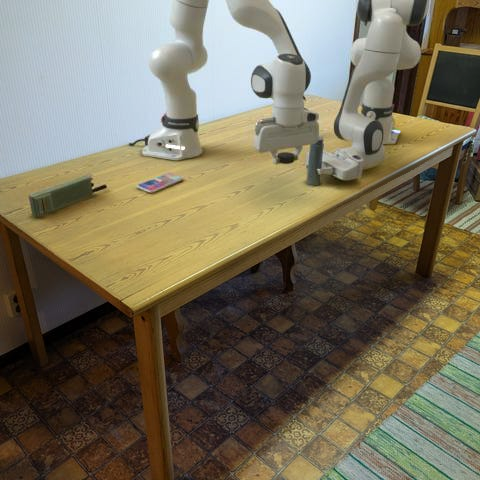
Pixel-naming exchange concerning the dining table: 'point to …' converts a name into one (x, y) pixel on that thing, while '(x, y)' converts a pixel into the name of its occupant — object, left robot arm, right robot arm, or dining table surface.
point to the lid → (286, 157)
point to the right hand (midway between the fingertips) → (312, 168)
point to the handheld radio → (62, 195)
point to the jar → (315, 162)
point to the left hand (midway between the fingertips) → (285, 161)
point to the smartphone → (159, 182)
